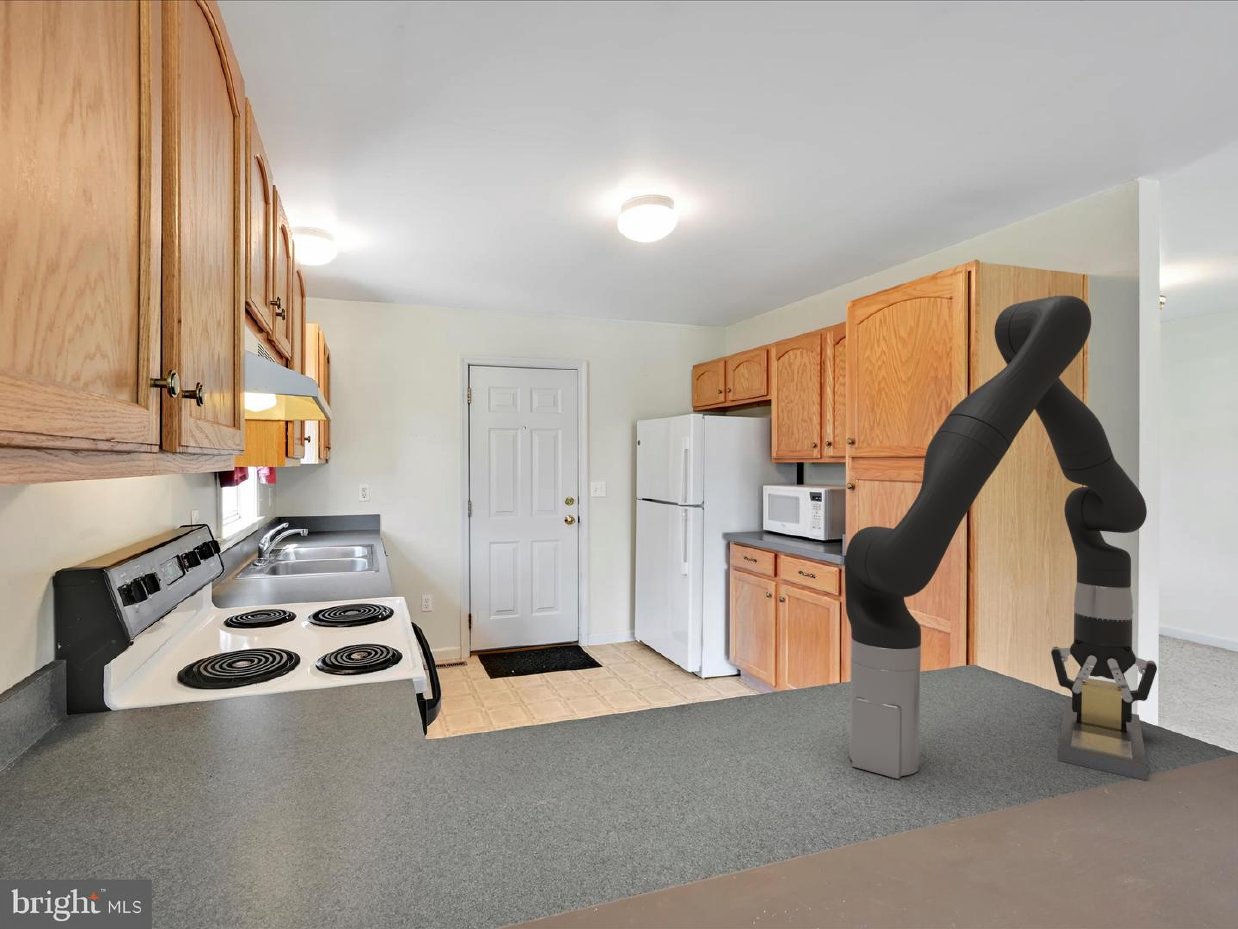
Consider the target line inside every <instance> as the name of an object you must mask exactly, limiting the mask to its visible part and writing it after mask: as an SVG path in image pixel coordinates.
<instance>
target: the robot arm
mask: <svg viewBox="0 0 1238 929" xmlns="http://www.w3.org/2000/svg"><path fill="white" fill-rule="evenodd" d="M1091 327H1092V313H1091V309H1090V307H1089V305H1088V304H1087V303H1086V302H1085V301H1084V300H1083V299H1081V298H1080V297H1077V296H1075V295H1053V296H1047V297H1043V298H1037V299H1034V300H1027V301H1023V302H1018V303H1013V304H1012V305H1009V306H1007V307H1006V308H1004V309H1003V310H1002V311H1001V312H1000V313H999V315H998V316H997V319H996V322H995V324H994V332H993V334H994V340H995V344H996V346H997V349H998V350H999V353H1000V355H1001V356H1002V358H1003V360H1004V362H1005V364H1006V366H1005V367H1004V368H1003V369H1002V370H1001V371H999V372H998V373H997V374H996V375H994V376H993V377H991V378H990V379H989V380H987V381H986V382H985V383H984V384H983V383H982V385H980V386H979V387H978V388H976V389H975V390H974V391H972V392H971V393H969V394H968V395H967V396H966V397H965V398H963V399H962V400H961V401H960V402H959V403H957V405H955V406H954V407H953V409H951V411H950V412H949V413H948V415H947V416H946V418H945V419H944V421H943V422H942V423H941V424H940V426H939V428H938V429H937V430H936V432H935V434H934V436H933V437H932V439H931V440H930V442H929V444H928V446H927V449H926V452H925V457H924V463H923V472H922V482H921V486H920V490H919V492H918V494H917V496H916V498H915V500H914V501H913V503H912V504H911V506H910V508H908V510H907V512H906V513H905V515H903V518H902V519H901V520H900V521H899V522H898V524H897V525H896V526H895V527H894V528H891V527H885V526H877V525H876V526H866V527H864V528H862V529H860V530H858V531H857V532H856V533H854V534H853V536H851V539H850V540H849V543H848V545H847V548H846V552H845V557H844V558H845V559H844V592H845V612H846V615H847V619H848V622H849V624H850V632H851V634H850V638H851V640H850V642H851V643H850V683H849V684H850V685H849V686H850V688H849V690H850V691H849V695H850V696H849V698H850V699H849V700H850V701H849V746H848V747H849V749H848V750H849V754H848V755H849V756H848V757H849V759H850V760H851V763H852V764H851V766H852V767H853V768H857V769H861V770H865V771H868V772H872V773H876V774H879V775H883V776H887V777H888V778H889V777H890V778H893V779H900V778H901V777H903V776H910V775H913V774H916V773H917V772H918V771H919V770H920V741H921V740H920V733H921V732H920V731H921V730H920V728H921V726H920V724H921V722H920V721H921V719H920V718H921V668H922V666H921V665H922V664H921V663H922V662H921V660H922V628H921V624H920V623H919V622H918V621H917V620H916V619H915V617H914V616H913V615H912V614H911V612H910V611H909V609H908V607H907V604H906V602H905V598H909V597H913V596H915V595H917V594H918V593H920V592H921V591H922V590H924V589H925V587H927V585H928V584H930V582H931V580H932V579H933V577H934V575H935V574H936V572H937V571H938V568H939V566H940V564H941V563H942V560H943V558H944V556H945V555H946V552H947V550H948V547H949V546H950V544H951V542H952V540H953V538H954V536H955V534H956V532H957V530H958V528H959V526H960V525H961V523H962V521H963V519H964V518H965V516H966V514H967V513H968V512H969V510H970V508H971V507H972V506H973V503H974V502H975V500H976V499H977V497H978V495H979V494H980V492H981V491H982V489H983V487H984V486H985V484H986V483H987V481H988V480H989V479H990V477H991V475H992V474H993V473H994V471H995V470H996V468H997V467H998V466H999V464H1000V462H1001V461H1002V459H1003V458H1004V457H1005V455H1006V453H1007V452H1008V450H1009V449H1010V447H1011V446H1012V443H1013V442H1014V440H1015V438H1016V437H1017V435H1018V434H1019V432H1020V430H1022V428H1023V426H1024V424H1025V423H1026V422H1027V420H1028V419H1029V417H1030V416H1031V415H1032V414H1033V412H1034V411H1035V412H1036V414H1037V416H1038V417H1039V419H1040V422H1041V423H1042V425H1043V427H1044V429H1045V431H1046V433H1047V436H1048V438H1049V441H1050V443H1051V446H1052V448H1053V451H1054V453H1055V457H1056V459H1057V461H1058V463H1059V466H1060V470H1061V471H1062V474H1063V476H1064V477H1065V478H1066V479H1067V481H1070V482H1072V483H1075V484H1078V485H1082V486H1081V487H1080V486H1079V487H1077V488H1075V489H1073V490H1072V491H1071V492H1070V493H1069V494H1068V496H1067V497H1066V498H1065V503H1064V509H1063V510H1064V518H1065V521H1066V525H1067V528H1068V531H1069V534H1070V538H1071V541H1072V545H1073V548H1074V551H1075V552H1074V553H1075V555H1076V583H1075V584H1076V585H1075V591H1074V599H1073V600H1074V601H1073V608H1074V610H1073V642H1072V643H1071V645H1070V647H1061V648H1060V647H1058V646H1053V647H1051V652H1050V654H1051V658H1052V662H1053V665H1054V670H1055V673H1056V677H1057V680H1058V682H1057V683H1058V685H1059V686H1060V687H1063V688H1066V689H1068V690H1069V691H1070V692H1071V702H1072V710H1073V712H1077V716H1078V717H1082V683H1086V681H1087V679H1088V678H1089V677H1095V678H1097V677H1098V678H1099V677H1102V678H1105V679H1109V680H1114V681H1115V683H1116V684H1117V686H1118V688H1119V689H1121V690H1122V700H1121V725H1124V726H1126V722H1129V723H1130V722H1131V720H1132V714H1133V703H1134V702H1138V701H1140V702H1141V701H1142V702H1145V701H1147V700H1148V698H1149V695H1150V692H1151V689H1152V685H1153V683H1154V680H1155V677H1156V673H1157V671H1158V667H1157V663H1156V662H1155V661H1154V660H1145V659H1143V658H1139V657H1137V656H1136V654H1135V653H1134V651H1133V614H1134V608H1133V607H1134V605H1133V603H1134V602H1133V596H1132V595H1133V594H1132V558H1131V557H1132V556H1131V554H1130V552H1128V551H1127V550H1125V549H1123V548H1120V547H1117V546H1114V545H1111V544H1109V543H1108V542H1106V540H1105V539H1104V537H1103V534H1102V532H1106V533H1121V534H1128V533H1133V532H1136V531H1138V530H1139V529H1140V528H1141V527H1142V526H1143V525H1144V524H1145V521H1146V518H1147V514H1148V511H1147V510H1148V509H1147V503H1146V500H1145V498H1144V496H1143V495H1142V493H1141V491H1140V490H1139V488H1138V487H1137V485H1136V484H1135V483H1134V482H1133V481H1132V479H1131V478H1130V477H1129V475H1128V474H1127V473H1126V472H1125V470H1124V469H1123V468H1122V467H1121V465H1120V464H1119V462H1118V461H1117V460H1116V459H1115V456H1114V454H1113V450H1112V448H1111V445H1110V442H1109V440H1108V437H1107V435H1106V432H1105V429H1104V427H1103V424H1102V423H1101V422H1100V420H1099V418H1098V417H1097V416H1096V415H1095V414H1094V412H1093V411H1092V410H1091V409H1090V408H1089V407H1088V406H1087V405H1086V404H1085V403H1084V402H1083V401H1082V400H1081V399H1080V398H1078V397H1077V395H1075V394H1074V393H1073V392H1072V391H1071V389H1069V388H1068V386H1066V385H1065V383H1064V382H1063V380H1062V379H1061V378H1060V376H1061V375H1062V374H1063V373H1064V371H1066V369H1067V368H1068V367H1069V366H1070V364H1071V363H1072V362H1073V361H1074V360H1075V358H1076V357H1078V356H1077V355H1078V354H1079V353H1080V352H1081V350H1082V349H1083V348H1084V345H1085V344H1086V342H1087V340H1088V338H1089V334H1090V333H1091V332H1090V331H1091ZM1068 656H1072V657H1073V659H1074V660H1075V661H1076V663H1077V664H1078V665H1079V667H1080V668H1079V670H1078V672H1077V675H1076V677H1075V679H1074V680H1072V679H1070V678H1069V677H1068V674H1067V670H1066V667H1065V663H1066V662H1068V659H1069V657H1068ZM1134 665H1136V666H1137V669H1138V670H1137V671H1138V673H1139V674H1140V675H1141V677H1140V681H1139V683H1138V687H1137V689H1135V690H1131V688H1130V686H1129V684H1128V681H1127V678H1126V676H1125V674H1126V672H1127V671H1129V670H1130V669H1131V668H1132V667H1133V666H1134Z"/></svg>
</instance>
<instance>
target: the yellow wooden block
mask: <svg viewBox="0 0 1238 929" xmlns="http://www.w3.org/2000/svg"><path fill="white" fill-rule="evenodd" d="M1081 691H1082V722H1081V724H1083V725H1088V726H1093V727H1098V728H1104V729H1109V730H1114V731H1119V732H1121V700H1122V690H1121V689H1119V688H1118V686H1117V684H1116V681H1115V682H1114V681H1107V680H1101V679H1095V678H1089V677H1088V679H1087V681H1086V683H1082V690H1081Z"/></svg>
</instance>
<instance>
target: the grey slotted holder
mask: <svg viewBox="0 0 1238 929" xmlns="http://www.w3.org/2000/svg"><path fill="white" fill-rule="evenodd" d="M1081 722H1082V717H1078V716H1077V712H1073V710H1072V701H1066V700H1065V702H1064V708H1063V717H1062V721H1061V727H1060V728H1061V729H1060V733H1059V739H1058V740H1059V741H1058V746H1057V747H1058V748H1057V749H1058V750H1057V761H1058V762H1063V763H1067V764H1071V765H1076V766H1080V767H1085V768H1090V769H1094V770H1099V771H1102V772H1106V773H1107V772H1108V773H1110V774H1116V775H1120V776H1125V777H1129V778H1133V779H1137V780H1142V781H1146V782H1147V780H1148V779H1147V777H1148V763H1147V759H1146V758H1147V757H1146V751H1145V746H1144V739H1143V732H1142V726H1141V720H1140V715H1139V714H1137V713H1132V720H1131V722H1130V723H1129V722H1126V726H1124V725H1121V732H1119V731H1114V730H1109V729H1104V728H1098V727H1093V726H1088V725H1083V724H1081Z"/></svg>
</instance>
